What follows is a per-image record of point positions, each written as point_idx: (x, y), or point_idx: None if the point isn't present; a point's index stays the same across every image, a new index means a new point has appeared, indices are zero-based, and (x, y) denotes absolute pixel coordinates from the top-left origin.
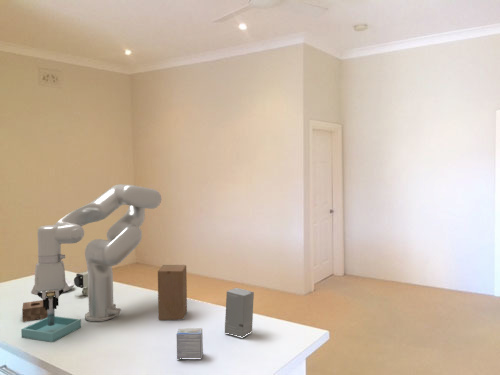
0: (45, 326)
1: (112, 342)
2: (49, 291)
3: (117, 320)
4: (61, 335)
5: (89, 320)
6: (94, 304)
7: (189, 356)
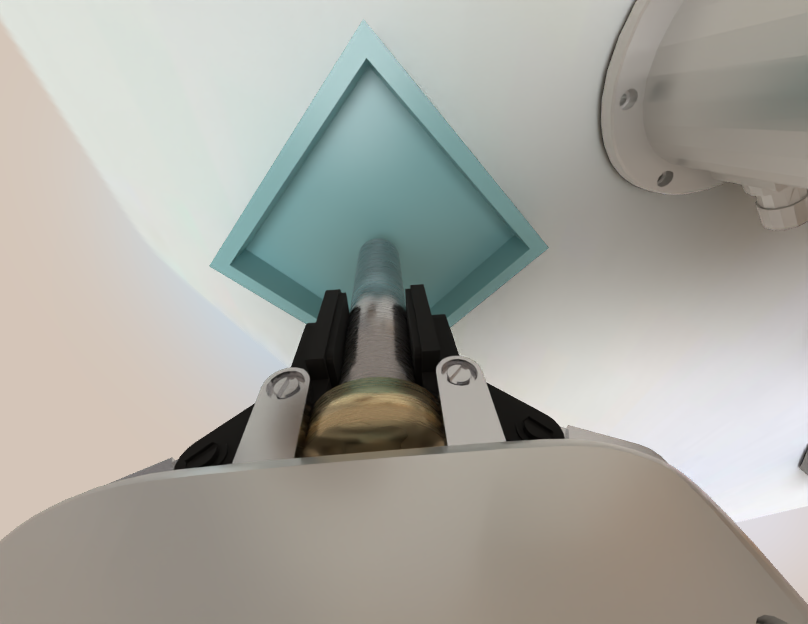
0: (334, 145)
1: (566, 406)
2: (358, 443)
3: (724, 211)
4: None
5: (607, 151)
6: (752, 162)
7: None
